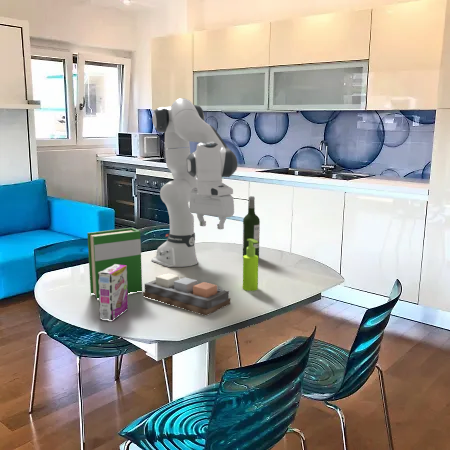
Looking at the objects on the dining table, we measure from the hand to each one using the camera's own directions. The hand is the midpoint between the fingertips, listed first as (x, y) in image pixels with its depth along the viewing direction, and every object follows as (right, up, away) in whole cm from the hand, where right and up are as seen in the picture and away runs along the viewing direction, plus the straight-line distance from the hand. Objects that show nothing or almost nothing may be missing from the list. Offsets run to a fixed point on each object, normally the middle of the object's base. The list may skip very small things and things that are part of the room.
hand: (211, 227), depth 173 cm
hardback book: (-36, -25, +12) cm, 46 cm away
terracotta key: (-2, -24, -1) cm, 24 cm away
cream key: (-17, -22, +9) cm, 29 cm away
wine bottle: (+17, -15, +62) cm, 66 cm away
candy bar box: (-32, -30, -9) cm, 45 cm away
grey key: (-10, -23, +4) cm, 25 cm away
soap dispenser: (+15, -24, +18) cm, 34 cm away
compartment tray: (-10, -27, +5) cm, 29 cm away
